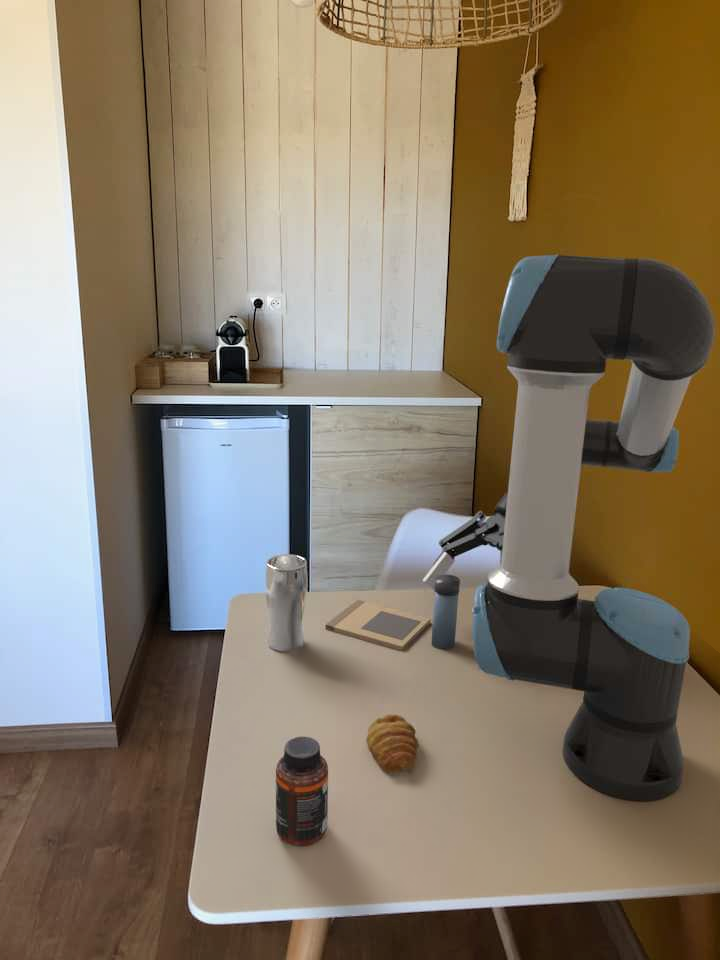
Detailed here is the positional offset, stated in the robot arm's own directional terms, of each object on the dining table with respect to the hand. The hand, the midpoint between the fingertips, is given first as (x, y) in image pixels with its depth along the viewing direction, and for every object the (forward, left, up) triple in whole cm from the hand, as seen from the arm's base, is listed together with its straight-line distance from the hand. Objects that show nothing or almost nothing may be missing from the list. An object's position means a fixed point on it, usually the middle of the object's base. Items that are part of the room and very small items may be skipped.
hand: (450, 599), depth 133 cm
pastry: (-33, -6, -8) cm, 34 cm away
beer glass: (-16, +23, -8) cm, 29 cm away
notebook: (-2, +13, -8) cm, 15 cm away
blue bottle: (-2, 0, -8) cm, 8 cm away
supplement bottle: (-52, -3, -8) cm, 52 cm away
